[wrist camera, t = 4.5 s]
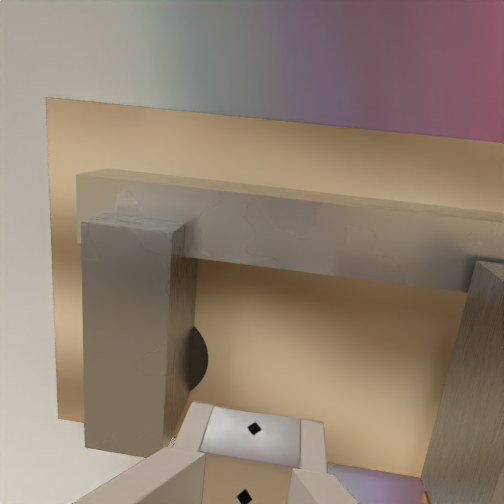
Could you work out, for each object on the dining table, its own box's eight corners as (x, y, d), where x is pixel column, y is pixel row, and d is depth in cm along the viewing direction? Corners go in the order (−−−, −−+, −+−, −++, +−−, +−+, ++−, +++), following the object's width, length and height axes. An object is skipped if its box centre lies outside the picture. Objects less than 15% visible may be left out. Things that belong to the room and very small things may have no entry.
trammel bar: (106, 168, 14) (49, 179, 11) (855, 252, 12) (1048, 295, 9) (106, 382, 16) (59, 443, 13) (736, 479, 14) (858, 577, 11)
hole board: (65, 99, 15) (45, 97, 14) (913, 184, 13) (975, 189, 11) (73, 400, 18) (57, 418, 17) (741, 506, 16) (775, 535, 15)
